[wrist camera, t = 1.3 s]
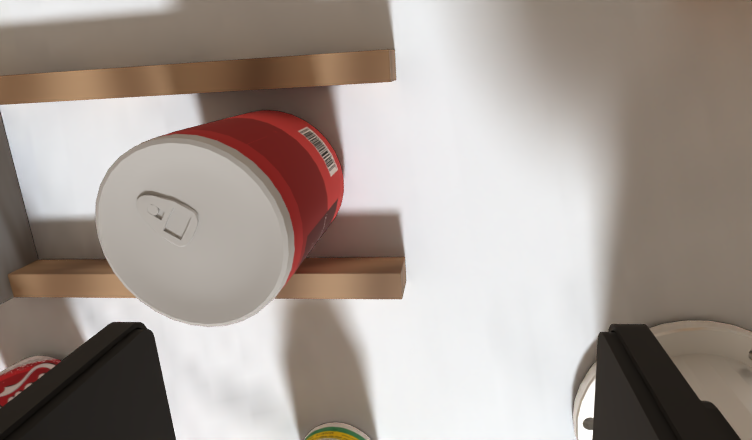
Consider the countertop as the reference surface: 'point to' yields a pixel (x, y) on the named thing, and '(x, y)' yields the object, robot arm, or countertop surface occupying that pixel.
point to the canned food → (218, 214)
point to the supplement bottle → (336, 432)
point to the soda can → (23, 376)
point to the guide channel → (95, 276)
